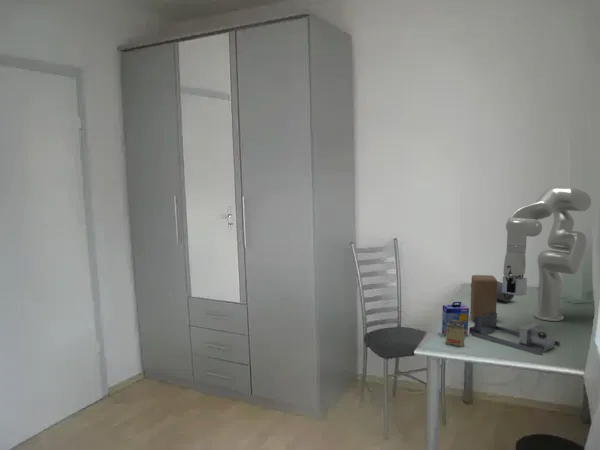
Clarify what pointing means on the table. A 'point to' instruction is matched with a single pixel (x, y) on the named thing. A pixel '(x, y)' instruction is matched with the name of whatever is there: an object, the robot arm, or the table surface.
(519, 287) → the steel block
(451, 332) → the lighter
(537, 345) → the sliding jaw
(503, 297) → the bluetooth speaker
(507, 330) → the frame
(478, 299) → the block
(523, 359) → the table surface
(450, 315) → the ink cartridge box
